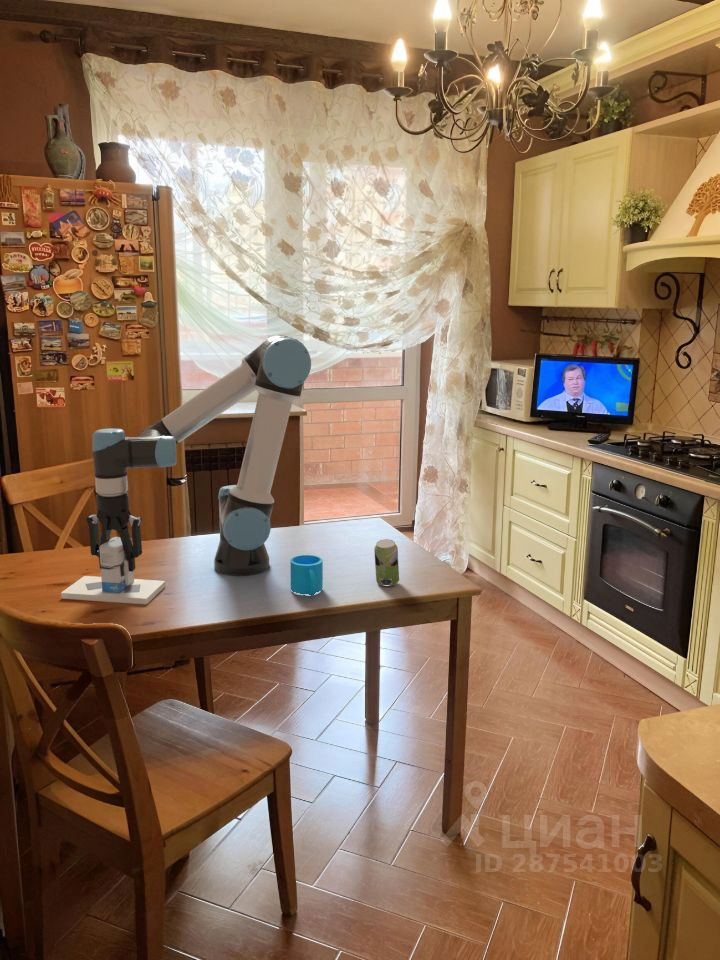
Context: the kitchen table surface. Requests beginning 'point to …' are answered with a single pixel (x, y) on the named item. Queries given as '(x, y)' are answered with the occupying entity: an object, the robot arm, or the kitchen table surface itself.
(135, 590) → the board
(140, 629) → the kitchen table surface
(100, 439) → the robot arm
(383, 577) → the beverage can
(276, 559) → the kitchen table surface
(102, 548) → the ink box
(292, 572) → the mug
